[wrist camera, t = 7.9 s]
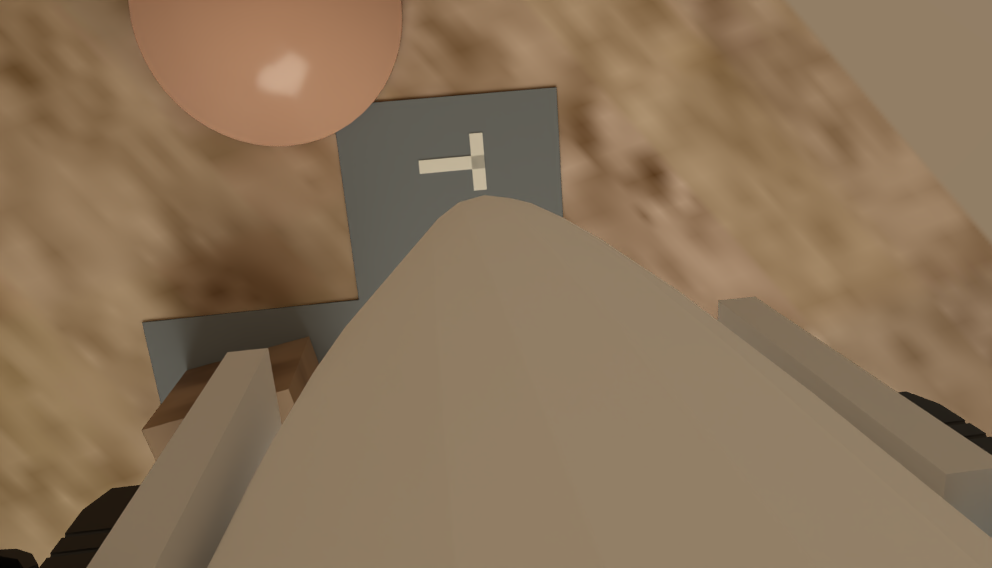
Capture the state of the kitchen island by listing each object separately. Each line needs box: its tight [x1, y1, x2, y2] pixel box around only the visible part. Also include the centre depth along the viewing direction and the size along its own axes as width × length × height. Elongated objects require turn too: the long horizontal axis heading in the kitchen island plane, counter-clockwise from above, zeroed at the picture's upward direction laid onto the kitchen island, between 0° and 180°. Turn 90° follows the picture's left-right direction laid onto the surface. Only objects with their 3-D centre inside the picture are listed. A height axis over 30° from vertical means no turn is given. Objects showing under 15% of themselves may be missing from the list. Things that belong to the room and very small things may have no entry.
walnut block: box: [142, 336, 319, 461], centre depth 33 cm, size 6×6×6 cm
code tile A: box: [336, 87, 563, 309], centre depth 34 cm, size 10×10×1 cm
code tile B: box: [142, 300, 360, 404], centre depth 36 cm, size 10×10×1 cm
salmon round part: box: [128, 0, 402, 146], centre depth 30 cm, size 11×11×1 cm
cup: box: [207, 195, 992, 568], centre depth 10 cm, size 7×7×15 cm
